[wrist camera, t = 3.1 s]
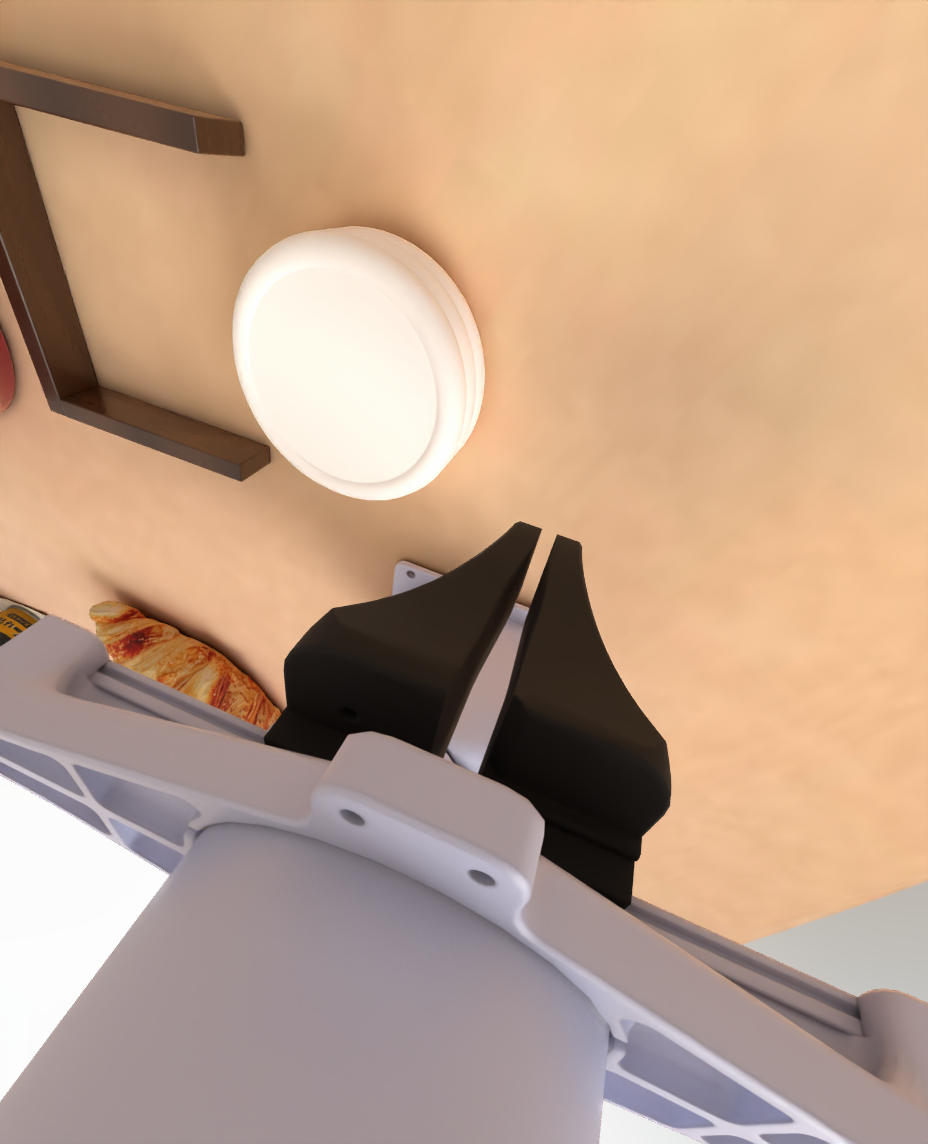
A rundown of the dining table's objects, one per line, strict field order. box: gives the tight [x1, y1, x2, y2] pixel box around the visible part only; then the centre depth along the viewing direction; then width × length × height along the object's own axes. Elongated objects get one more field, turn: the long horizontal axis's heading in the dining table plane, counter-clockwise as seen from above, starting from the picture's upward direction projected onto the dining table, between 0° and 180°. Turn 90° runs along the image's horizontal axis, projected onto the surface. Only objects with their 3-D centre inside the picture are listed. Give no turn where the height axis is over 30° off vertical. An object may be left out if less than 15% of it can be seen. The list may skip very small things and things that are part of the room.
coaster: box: [232, 226, 485, 500], centre depth 21 cm, size 10×10×4 cm
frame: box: [0, 61, 270, 482], centre depth 23 cm, size 12×14×2 cm
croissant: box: [89, 601, 281, 731], centre depth 41 cm, size 21×10×8 cm, turn 50°
